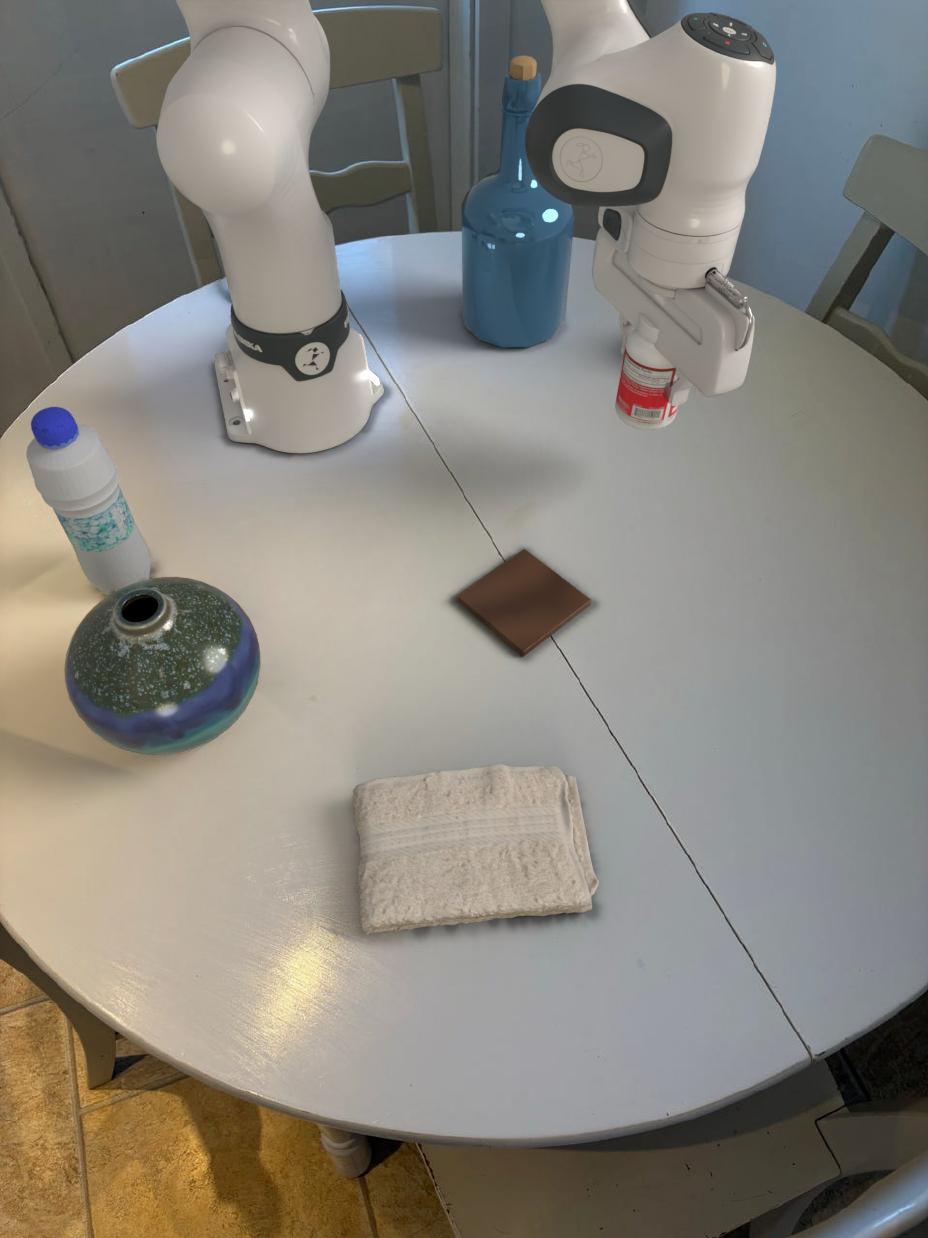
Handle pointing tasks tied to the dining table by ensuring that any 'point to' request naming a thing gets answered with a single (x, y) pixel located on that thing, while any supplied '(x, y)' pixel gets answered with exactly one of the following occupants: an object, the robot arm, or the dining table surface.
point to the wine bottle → (515, 235)
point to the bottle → (87, 500)
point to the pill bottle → (644, 381)
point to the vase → (163, 665)
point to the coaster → (523, 601)
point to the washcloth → (471, 847)
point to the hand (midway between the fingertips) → (652, 377)
